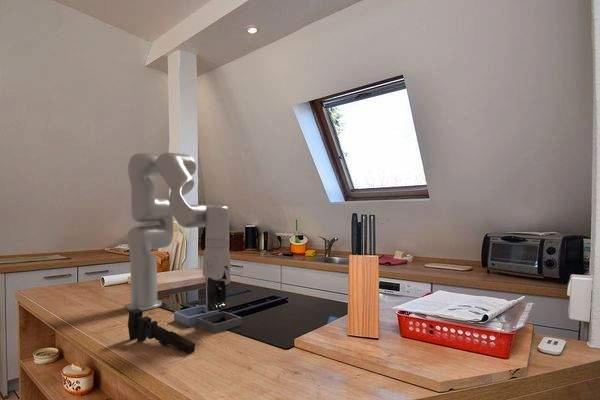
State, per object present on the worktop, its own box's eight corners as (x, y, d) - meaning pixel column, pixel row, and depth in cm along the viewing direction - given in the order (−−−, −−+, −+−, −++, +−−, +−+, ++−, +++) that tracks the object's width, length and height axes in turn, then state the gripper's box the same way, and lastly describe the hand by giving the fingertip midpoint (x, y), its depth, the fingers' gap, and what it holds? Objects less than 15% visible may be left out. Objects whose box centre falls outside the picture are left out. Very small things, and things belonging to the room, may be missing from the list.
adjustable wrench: (185, 372, 97) (126, 337, 110) (192, 368, 100) (134, 334, 112) (189, 342, 97) (129, 310, 109) (197, 338, 99) (137, 308, 111)
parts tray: (174, 320, 126) (173, 311, 126) (203, 313, 134) (203, 305, 134) (188, 327, 119) (188, 318, 119) (218, 319, 127) (218, 310, 127)
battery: (211, 313, 117) (212, 277, 116) (204, 310, 119) (204, 275, 119) (229, 308, 122) (229, 273, 122) (222, 305, 124) (222, 271, 124)
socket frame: (197, 325, 120) (197, 318, 120) (223, 318, 127) (223, 311, 127) (214, 333, 113) (214, 325, 113) (241, 324, 120) (241, 317, 120)
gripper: (193, 242, 123) (193, 296, 124) (221, 247, 112) (221, 307, 112) (213, 240, 129) (213, 292, 129) (242, 245, 117) (241, 302, 117)
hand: (217, 299), depth 120 cm, fingers closed on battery, 4 cm apart
